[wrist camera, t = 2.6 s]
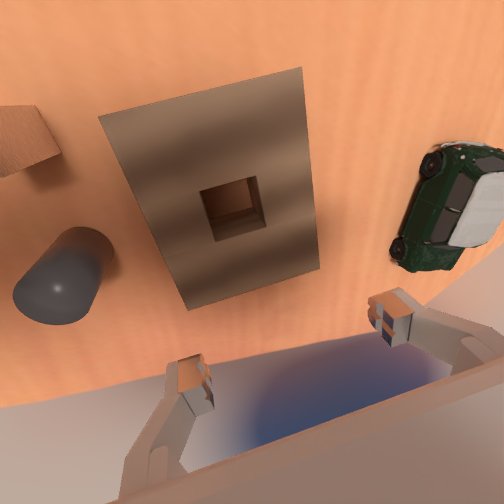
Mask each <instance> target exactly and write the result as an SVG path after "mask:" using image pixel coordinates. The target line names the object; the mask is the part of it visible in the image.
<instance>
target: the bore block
mask: <svg viewBox="0 0 504 504" xmlns="http://www.w3.org/2000/svg"><path fill="white" fill-rule="evenodd" d="M98 118H99V121H100V123H101V125H102V127H103V129H104V131H105V133H106V136H107V138H108V140H109V142H110V144H111V146H112V148H113V151H114V153H115V155H116V157H117V159H118V161H119V164H120V166H121V168H122V170H123V172H124V174H125V176H126V179H127V181H128V183H129V185H130V187H131V189H132V192H133V194H134V196H135V198H136V200H137V202H138V204H139V207H140V209H141V211H142V213H143V215H144V217H145V220H146V222H147V224H148V226H149V228H150V230H151V232H152V235H153V237H154V239H155V241H156V243H157V245H158V248H159V250H160V252H161V254H162V256H163V258H164V260H165V263H166V265H167V267H168V269H169V271H170V273H171V275H172V278H173V280H174V282H175V284H176V286H177V288H178V291H179V293H180V295H181V297H182V299H183V301H184V303H185V306H186V308H187V310H188V311H189V310H192V309H196V308H199V307H202V306H205V305H208V304H211V303H214V302H218V301H221V300H224V299H227V298H230V297H233V296H236V295H239V294H243V293H246V292H249V291H252V290H255V289H258V288H261V287H264V286H268V285H271V284H274V283H277V282H280V281H283V280H286V279H289V278H293V277H296V276H299V275H302V274H305V273H308V272H311V271H314V270H318V269H320V262H319V251H318V240H317V229H316V218H315V206H314V195H313V184H312V173H311V162H310V151H309V140H308V129H307V117H306V106H305V95H304V84H303V73H302V67H298V68H294V69H290V70H286V71H282V72H278V73H274V74H270V75H266V76H261V77H257V78H253V79H249V80H245V81H241V82H237V83H233V84H229V85H225V86H221V87H217V88H213V89H209V90H205V91H201V92H196V93H192V94H188V95H184V96H180V97H176V98H172V99H168V100H164V101H160V102H156V103H152V104H148V105H144V106H140V107H136V108H131V109H127V110H123V111H119V112H115V113H111V114H107V115H103V116H99V117H98ZM245 178H247V182H248V187H249V191H250V196H251V200H252V205H253V207H252V208H249V209H246V210H242V211H239V212H235V213H232V214H228V215H225V216H222V217H218V218H215V219H211V220H210V219H209V215H208V212H207V209H206V206H205V203H204V200H203V197H202V194H201V191H202V190H205V189H209V188H213V187H216V186H220V185H223V184H227V183H230V182H234V181H238V180H241V179H245Z"/></svg>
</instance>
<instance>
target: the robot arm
mask: <svg viewBox="0 0 504 504" xmlns="http://www.w3.org/2000/svg"><path fill="white" fill-rule="evenodd" d="M368 304H369V305H370V308H369V309H368V318H369V321H370V323H371V324H372V326H373V327H374V328H375V329H376V330H378V331H381V332H382V338H383V339H384V340H385V341H386V342H387V343H388V344H389V346H390V347H394V346H397V345H400V344H404V343H407V342H409V344H411V345H413V346H415V347H418V348H419V349H421V350H423V351H425V352H427V353H429V354H431V355H433V356H435V357H437V358H439V359H441V360H443V361H444V362H446V363H448V364H450V365H452V366H453V367H452V370H451V374H450V377H447V378H444V379H441V380H439V381H436V382H433V383H431V384H428V385H425V386H422V387H420V388H417V389H414V390H412V391H409V392H406V393H404V394H401V395H398V396H395V397H393V398H390V399H387V400H385V401H382V402H379V403H376V404H374V405H372V406H368V407H366V408H363V409H360V410H358V411H355V412H352V413H349V414H347V415H344V416H341V417H339V418H336V419H333V420H331V421H328V422H325V423H323V424H320V425H318V426H315V427H312V428H309V429H307V430H304V431H301V432H299V433H296V434H293V435H290V436H288V437H285V438H282V439H280V440H277V441H274V442H271V443H269V444H266V445H263V446H261V447H258V448H255V449H253V450H250V451H247V452H245V453H242V454H239V455H236V456H234V457H231V458H229V459H226V460H223V461H220V462H218V463H215V464H212V465H210V466H207V467H204V468H201V469H199V470H196V471H193V472H191V473H187V471H186V470H185V469H184V467H183V466H182V465H181V464H180V462H179V459H180V457H181V455H182V452H183V450H184V447H185V444H186V442H187V439H188V437H189V434H190V432H191V429H192V427H193V424H194V422H195V419H196V417H197V416H199V415H202V414H204V413H207V412H210V411H212V410H214V398H213V393H212V391H211V387H212V380H211V375H210V371H209V368H208V366H207V364H205V363H204V357H203V355H202V354H201V353H200V354H197V355H194V356H190V357H187V358H184V359H181V360H178V361H175V362H171V363H168V364H167V367H166V381H165V398H164V399H162V400H161V401H160V402H159V404H158V406H157V407H156V409H155V411H154V412H153V414H152V415H151V417H150V419H149V420H148V422H147V423H146V425H145V427H144V428H143V430H142V432H141V433H140V435H139V437H138V438H137V440H136V441H135V443H134V445H133V446H132V448H131V449H130V451H129V453H128V454H127V456H126V458H125V462H124V468H123V474H122V480H121V487H120V492H119V498H118V500H115V501H112V502H110V503H107V504H504V336H503V335H501V334H500V333H498V332H497V331H495V330H494V329H493V328H492V327H488V326H485V325H482V324H479V323H476V322H472V321H469V320H466V319H463V318H459V317H456V316H453V315H450V314H446V313H444V312H440V311H437V310H434V309H431V308H428V309H426V308H424V307H423V306H422V305H421V304H420V303H419V302H417V301H416V300H415V299H414V298H412V297H411V296H410V295H409V294H408V293H406V292H405V291H404V290H403V289H402V288H399V287H398V288H395V289H392V290H389V291H386V292H383V293H380V294H377V295H375V296H372V297H369V299H368Z"/></svg>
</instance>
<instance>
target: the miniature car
mask: <svg viewBox="0 0 504 504" xmlns="http://www.w3.org/2000/svg"><path fill="white" fill-rule="evenodd" d="M454 144H464V145H454ZM468 144H472V145H468ZM447 145H453V146H448V147H445V146H447ZM476 145H478V146H476ZM443 146H444V149H442V153H440V152H434V153H430V154H426V155H425V157H424V158H423V160H422V163H421V165H420V173H422V174H423V175H425V176H426V177H432V178H430V179H428V180H426V181H424V182H423V184H422V186H421V188H420V191H419V193H418V196H417V199H416V201H415V204H414V206H413V209H412V211H411V214H410V216H409V219H408V221H407V224H406V226H405V229H404V231H403V234H402V237H403V238H404V240H403V239H402V240H394V241H393V242H392V244H391V247H390V249H389V251H390V253H391V256H392V257H393V258H395V259H397V260H400V261H396V262H395V263H396V264H397V265H398V266H401V267H402V268H404V269H406V271H409V272H411V273H415V272H417V271H433V270H440V269H442V270H449V271H450V270H451V269H452V268H453V267H454V265H455V264H456V262H457V261H458V259H459V257H460V256H461V254H462V253H463V251H464V249H465V248H475V247H478V246H480V245H483V244H485V243H487V242H488V241H489V240H490V239H491V238H492V237H493V235H494V233H495V231H496V230H497V228H498V226H499V225H500V223H501V221H502V220H503V218H504V152H503V151H502V150H503V149H499V148H497V149H496V148H493V147H491V146H489V145H487V144H485V143H478V142H470V141H454V142H451V143H444V144H442V145H441V148H443ZM402 237H401V238H402Z"/></svg>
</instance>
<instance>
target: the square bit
mask: <svg viewBox="0 0 504 504" xmlns="http://www.w3.org/2000/svg"><path fill="white" fill-rule="evenodd" d="M59 153H62V152H61V150H60V148H59V147H58V145H57V143H56V141H55V140H54V138H53V136H52V134H51V133H50V131H49V129H48V127H47V125H46V124H45V122H44V120H43V118H42V117H41V115H40V113H39V111H38V110H37V108H36V106H35V105H26V106H0V179H1V178H3V177H5V176H8V175H10V174H12V173H15V172H17V171H20V170H22V169H24V168H27V167H29V166H31V165H34V164H36V163H38V162H41V161H43V160H45V159H48V158H50V157H52V156H55V155H57V154H59Z"/></svg>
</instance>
